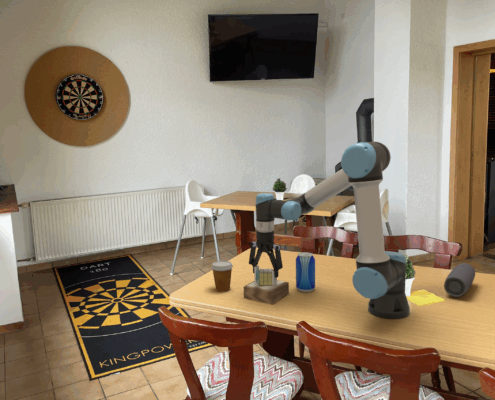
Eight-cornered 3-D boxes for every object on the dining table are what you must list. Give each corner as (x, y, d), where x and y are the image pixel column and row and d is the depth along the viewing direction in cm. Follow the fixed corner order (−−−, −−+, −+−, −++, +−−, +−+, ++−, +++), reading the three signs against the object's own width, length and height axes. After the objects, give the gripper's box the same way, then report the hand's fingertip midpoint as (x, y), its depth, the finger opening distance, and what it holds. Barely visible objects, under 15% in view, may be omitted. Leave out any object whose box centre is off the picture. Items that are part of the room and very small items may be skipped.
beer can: (314, 293, 191) (314, 257, 189) (295, 292, 193) (294, 256, 190) (315, 286, 199) (315, 251, 197) (296, 285, 201) (296, 251, 198)
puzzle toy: (260, 281, 192) (259, 268, 191) (273, 281, 191) (272, 268, 191) (258, 285, 186) (258, 272, 186) (272, 285, 186) (272, 272, 185)
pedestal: (288, 293, 192) (288, 281, 191) (272, 304, 180) (272, 291, 179) (261, 288, 199) (261, 276, 198) (243, 297, 188) (243, 285, 187)
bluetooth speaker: (453, 281, 201) (454, 260, 199) (476, 285, 195) (477, 263, 194) (441, 297, 182) (442, 274, 181) (466, 301, 177) (467, 277, 176)
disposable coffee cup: (237, 288, 199) (237, 262, 197) (222, 294, 192) (221, 268, 190) (223, 284, 205) (222, 259, 204) (207, 290, 198) (206, 264, 197)
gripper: (239, 229, 188) (240, 281, 192) (282, 235, 177) (282, 289, 180) (249, 226, 194) (249, 276, 198) (291, 231, 183) (291, 284, 186)
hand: (265, 282), depth 189 cm, fingers open, 8 cm apart
